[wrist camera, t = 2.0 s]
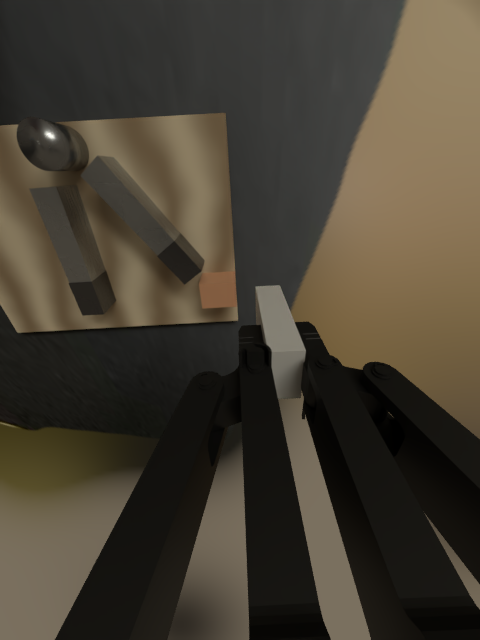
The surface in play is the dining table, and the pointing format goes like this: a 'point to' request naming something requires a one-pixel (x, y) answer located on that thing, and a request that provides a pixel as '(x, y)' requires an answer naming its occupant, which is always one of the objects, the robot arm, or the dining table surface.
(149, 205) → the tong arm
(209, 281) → the orange block
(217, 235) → the board
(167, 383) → the dining table surface
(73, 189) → the tongs fixed
